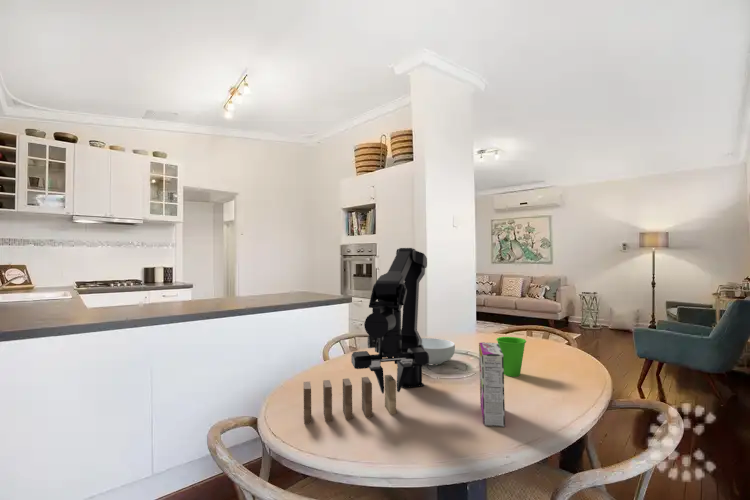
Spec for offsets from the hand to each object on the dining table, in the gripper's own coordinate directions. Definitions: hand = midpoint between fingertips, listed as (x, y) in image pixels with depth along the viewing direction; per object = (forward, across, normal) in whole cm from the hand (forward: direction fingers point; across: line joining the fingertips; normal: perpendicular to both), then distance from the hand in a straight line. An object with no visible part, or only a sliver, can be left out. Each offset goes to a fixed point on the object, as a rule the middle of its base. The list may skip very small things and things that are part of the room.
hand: (390, 392), depth 95 cm
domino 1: (+4, +20, 0) cm, 21 cm away
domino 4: (+4, +6, 0) cm, 8 cm away
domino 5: (+4, 0, 0) cm, 5 cm away
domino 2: (+4, +16, 0) cm, 16 cm away
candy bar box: (+5, -22, +9) cm, 25 cm away
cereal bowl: (+5, -24, -37) cm, 45 cm away
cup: (+5, -44, -18) cm, 48 cm away
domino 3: (+4, +11, 0) cm, 12 cm away
